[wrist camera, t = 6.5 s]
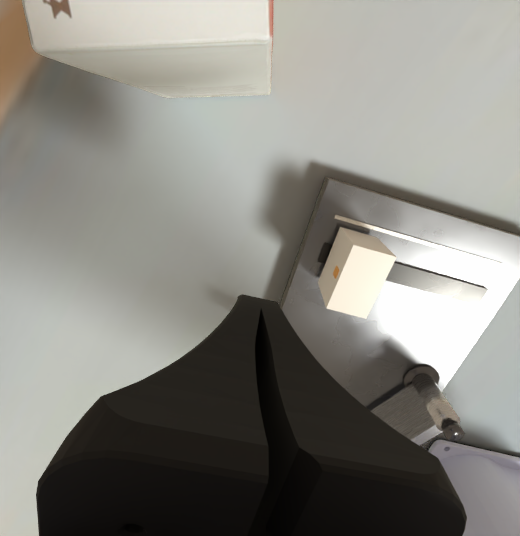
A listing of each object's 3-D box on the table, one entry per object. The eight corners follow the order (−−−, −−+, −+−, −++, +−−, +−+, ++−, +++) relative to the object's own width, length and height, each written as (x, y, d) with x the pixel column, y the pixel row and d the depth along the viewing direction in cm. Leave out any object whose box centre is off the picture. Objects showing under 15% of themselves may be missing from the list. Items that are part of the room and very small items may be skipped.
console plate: (527, 237, 19) (622, 277, 14) (396, 436, 26) (428, 512, 21) (325, 176, 18) (349, 195, 13) (244, 402, 25) (239, 473, 20)
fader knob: (377, 237, 18) (397, 257, 15) (352, 291, 19) (367, 319, 17) (339, 226, 18) (352, 244, 15) (317, 282, 19) (325, 308, 16)
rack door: (424, 370, 22) (451, 410, 19) (436, 381, 22) (464, 422, 19) (314, 444, 25) (321, 489, 22) (327, 452, 25) (335, 498, 22)
